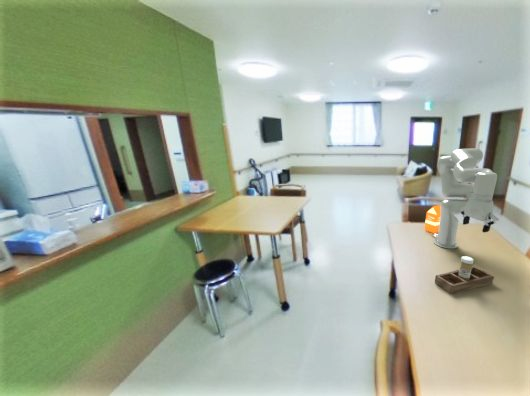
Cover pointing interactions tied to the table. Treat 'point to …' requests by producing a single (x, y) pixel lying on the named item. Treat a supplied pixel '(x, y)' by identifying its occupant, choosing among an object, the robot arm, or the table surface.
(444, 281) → the rack
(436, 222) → the orange juice
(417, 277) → the table surface
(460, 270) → the sprinkles bottle
